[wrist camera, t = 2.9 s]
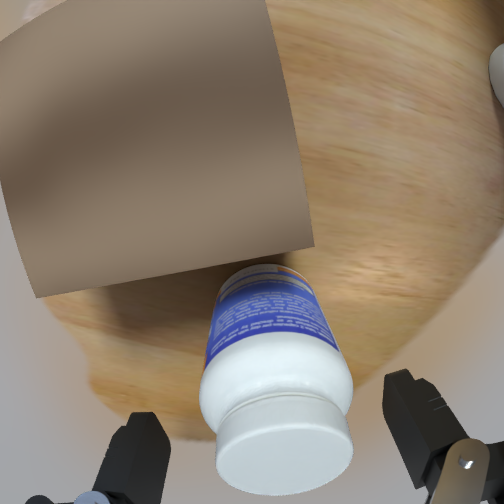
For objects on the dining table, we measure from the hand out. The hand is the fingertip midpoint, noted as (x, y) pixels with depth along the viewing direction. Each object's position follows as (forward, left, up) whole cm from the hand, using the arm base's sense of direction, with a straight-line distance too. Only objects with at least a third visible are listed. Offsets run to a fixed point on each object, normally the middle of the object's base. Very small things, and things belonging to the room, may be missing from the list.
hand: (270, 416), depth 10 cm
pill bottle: (0, 0, -8) cm, 8 cm away
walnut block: (-10, -3, -7) cm, 13 cm away
